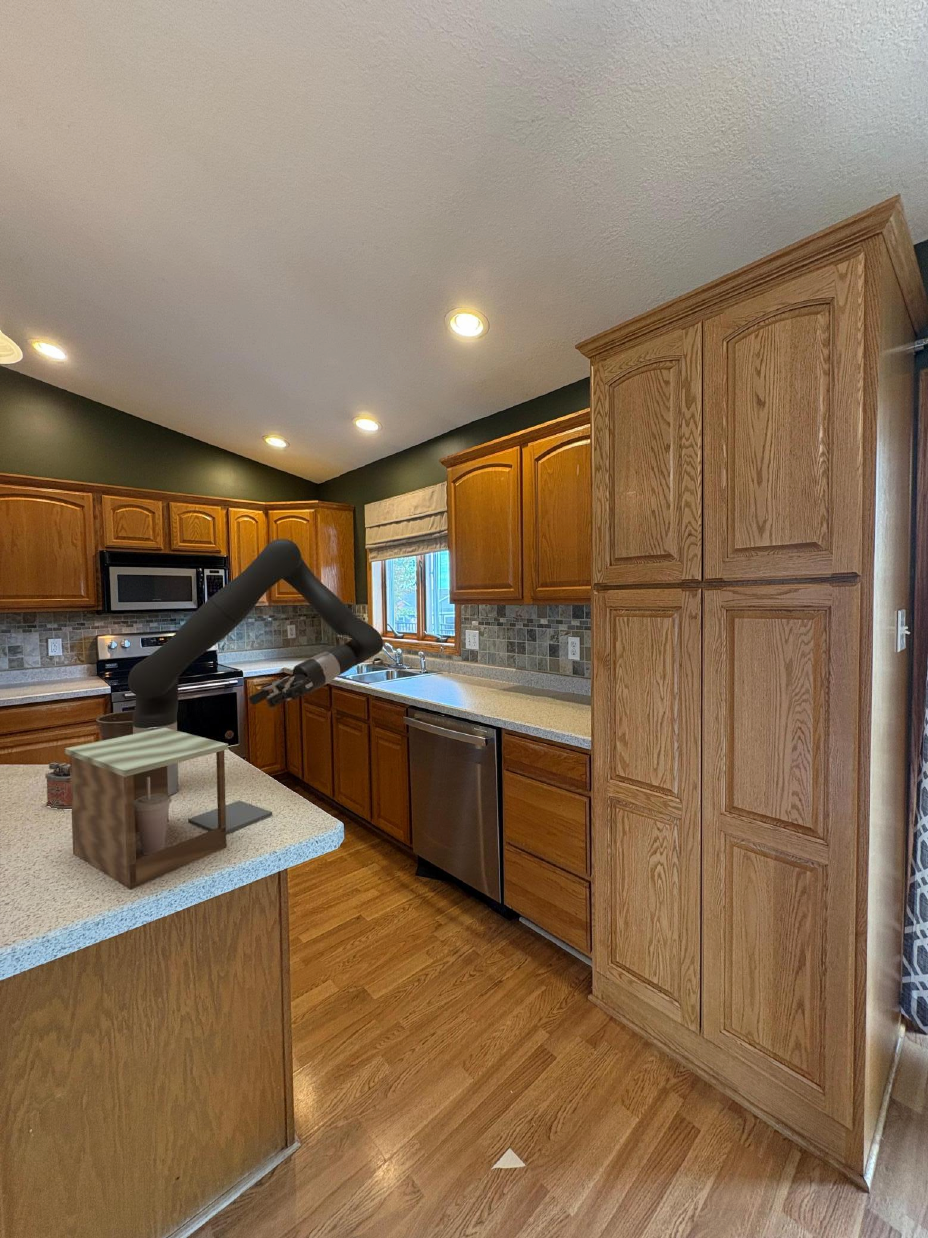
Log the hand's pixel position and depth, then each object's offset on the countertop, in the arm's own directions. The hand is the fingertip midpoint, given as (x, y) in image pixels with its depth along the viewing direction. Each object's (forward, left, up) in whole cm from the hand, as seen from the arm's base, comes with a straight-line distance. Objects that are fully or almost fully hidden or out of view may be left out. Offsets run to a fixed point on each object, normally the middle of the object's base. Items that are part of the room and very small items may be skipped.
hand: (259, 702), depth 118 cm
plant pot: (-49, -5, -24) cm, 54 cm away
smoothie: (0, -24, -24) cm, 34 cm away
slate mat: (0, -8, -24) cm, 25 cm away
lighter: (-39, -25, -24) cm, 52 cm away
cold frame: (0, -24, -24) cm, 34 cm away
